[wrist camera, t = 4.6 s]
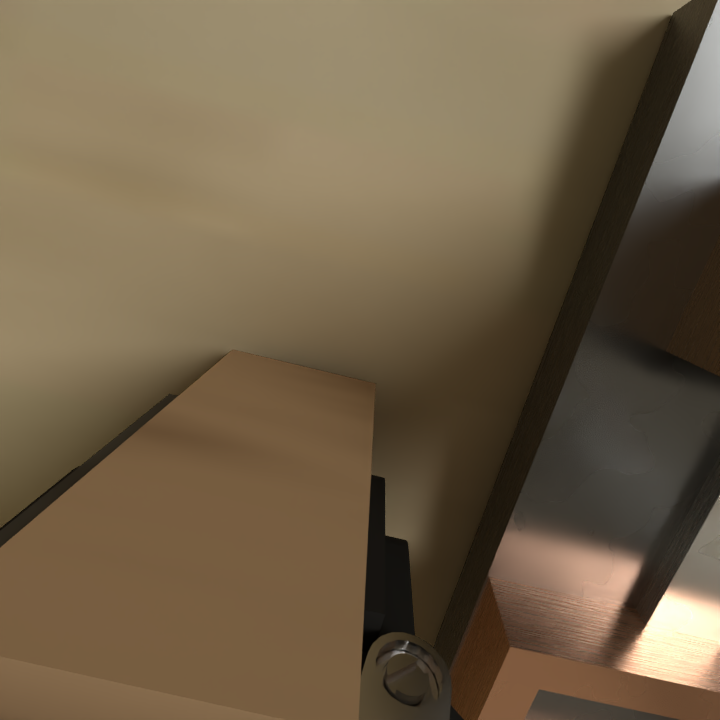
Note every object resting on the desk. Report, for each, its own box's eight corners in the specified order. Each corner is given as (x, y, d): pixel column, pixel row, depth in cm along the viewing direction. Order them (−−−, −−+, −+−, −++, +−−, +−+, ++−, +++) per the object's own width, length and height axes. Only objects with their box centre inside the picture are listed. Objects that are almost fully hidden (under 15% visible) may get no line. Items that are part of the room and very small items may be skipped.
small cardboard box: (322, 586, 13) (236, 1100, 5) (172, 552, 13) (-128, 1025, 5) (375, 383, 11) (358, 736, 4) (200, 341, 11) (-205, 609, 3)
